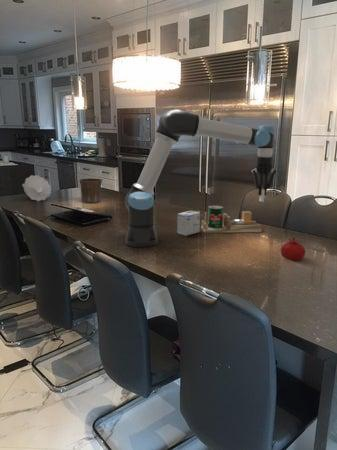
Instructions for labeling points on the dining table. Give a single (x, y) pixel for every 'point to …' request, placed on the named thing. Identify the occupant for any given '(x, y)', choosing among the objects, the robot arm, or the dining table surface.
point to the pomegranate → (293, 250)
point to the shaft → (243, 219)
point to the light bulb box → (188, 222)
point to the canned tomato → (215, 216)
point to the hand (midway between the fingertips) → (261, 201)
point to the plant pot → (90, 190)
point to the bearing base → (231, 226)
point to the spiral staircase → (37, 188)
